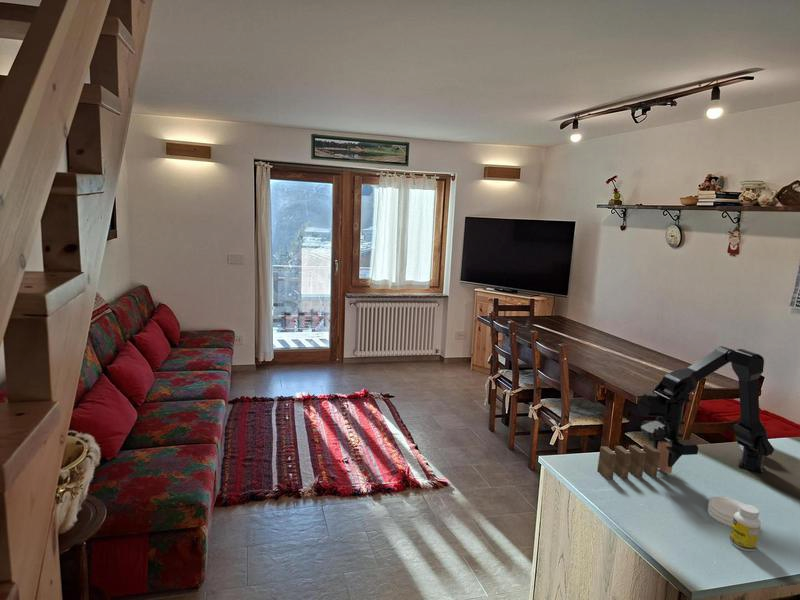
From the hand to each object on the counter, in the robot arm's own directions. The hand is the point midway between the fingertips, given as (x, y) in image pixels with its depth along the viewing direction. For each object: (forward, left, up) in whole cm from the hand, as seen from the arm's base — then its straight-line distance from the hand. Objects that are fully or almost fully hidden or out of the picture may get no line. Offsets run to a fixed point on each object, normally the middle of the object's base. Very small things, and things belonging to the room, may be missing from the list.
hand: (663, 462), depth 158 cm
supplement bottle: (+27, +23, -3) cm, 35 cm away
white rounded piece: (+15, +19, -4) cm, 24 cm away
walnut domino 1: (+15, -13, -3) cm, 20 cm away
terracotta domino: (0, 0, -2) cm, 2 cm away
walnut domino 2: (+12, -10, -3) cm, 15 cm away
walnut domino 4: (+4, -3, -3) cm, 6 cm away
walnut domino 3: (+8, -7, -3) cm, 10 cm away
